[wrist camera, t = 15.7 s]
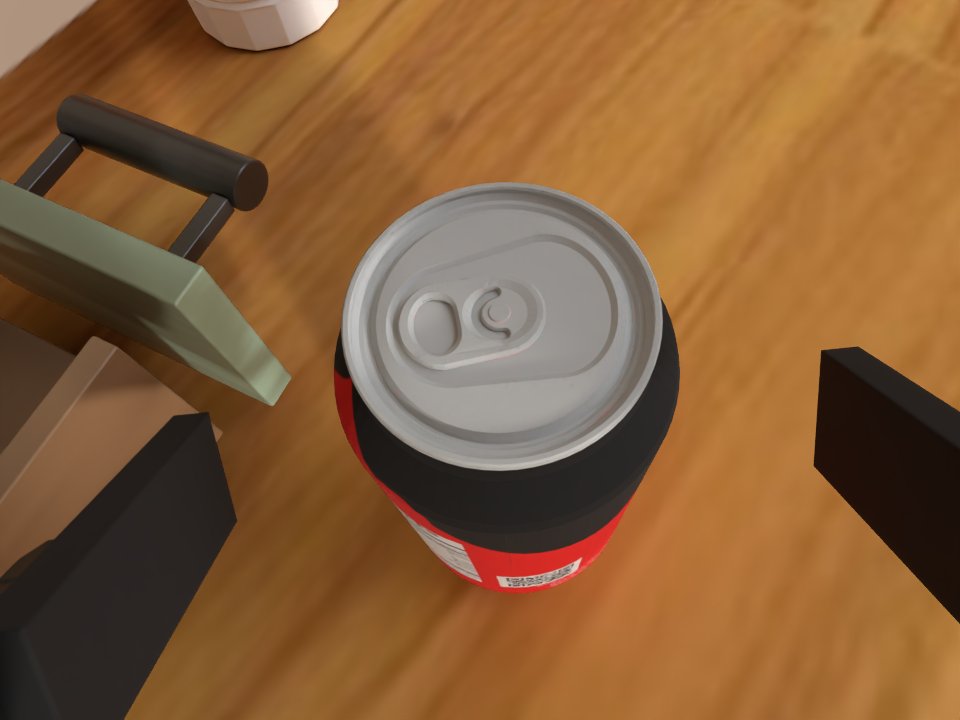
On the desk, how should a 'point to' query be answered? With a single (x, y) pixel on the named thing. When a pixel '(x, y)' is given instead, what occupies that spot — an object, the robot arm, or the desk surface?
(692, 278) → the desk surface
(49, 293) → the drawer
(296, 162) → the desk surface
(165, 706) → the desk surface
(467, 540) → the beverage can
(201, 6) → the white cup
